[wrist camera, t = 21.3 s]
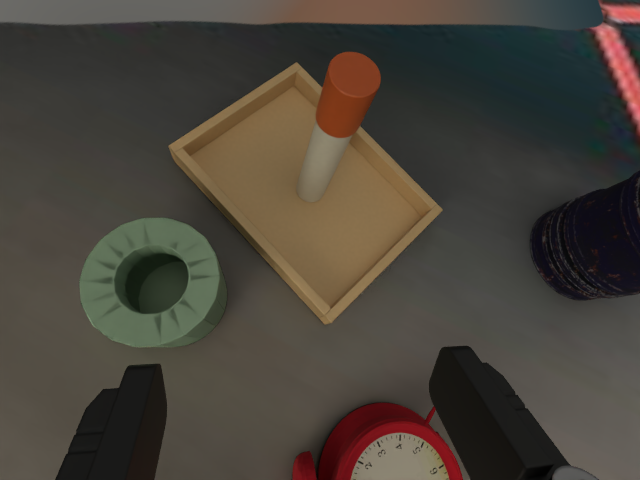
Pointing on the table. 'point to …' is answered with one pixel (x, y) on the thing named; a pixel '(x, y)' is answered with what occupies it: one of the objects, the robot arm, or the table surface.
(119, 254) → the green cylindrical pot
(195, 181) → the tray
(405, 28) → the table surface
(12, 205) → the table surface
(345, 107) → the marker
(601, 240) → the dark blue cylinder
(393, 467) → the alarm clock
